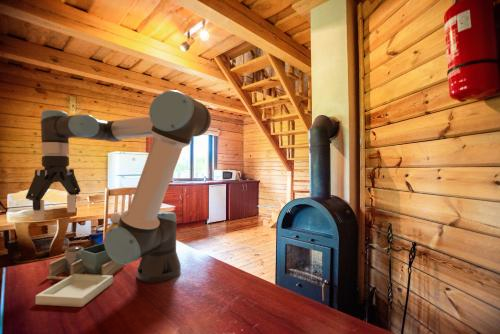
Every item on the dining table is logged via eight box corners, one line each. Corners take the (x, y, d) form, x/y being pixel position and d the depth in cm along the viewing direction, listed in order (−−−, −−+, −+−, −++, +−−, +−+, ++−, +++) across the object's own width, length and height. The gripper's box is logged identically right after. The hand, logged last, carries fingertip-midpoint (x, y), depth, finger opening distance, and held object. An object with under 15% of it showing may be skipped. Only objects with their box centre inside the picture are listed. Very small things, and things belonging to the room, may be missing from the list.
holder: (125, 264, 98) (125, 252, 98) (102, 281, 84) (102, 267, 84) (77, 262, 99) (77, 250, 99) (46, 278, 85) (46, 264, 85)
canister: (86, 267, 95) (87, 245, 94) (75, 274, 89) (75, 250, 89) (73, 267, 95) (73, 245, 95) (61, 273, 89) (61, 250, 89)
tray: (112, 282, 83) (112, 275, 83) (81, 306, 69) (81, 298, 69) (73, 280, 84) (73, 273, 84) (35, 304, 70) (35, 295, 70)
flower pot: (117, 269, 93) (118, 246, 93) (94, 279, 85) (95, 254, 85) (102, 265, 97) (103, 242, 97) (79, 274, 89) (79, 249, 89)
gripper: (72, 156, 98) (73, 209, 98) (9, 153, 73) (10, 224, 74) (90, 156, 98) (91, 209, 98) (33, 153, 73) (34, 224, 73)
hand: (56, 215), depth 86 cm, fingers open, 13 cm apart
